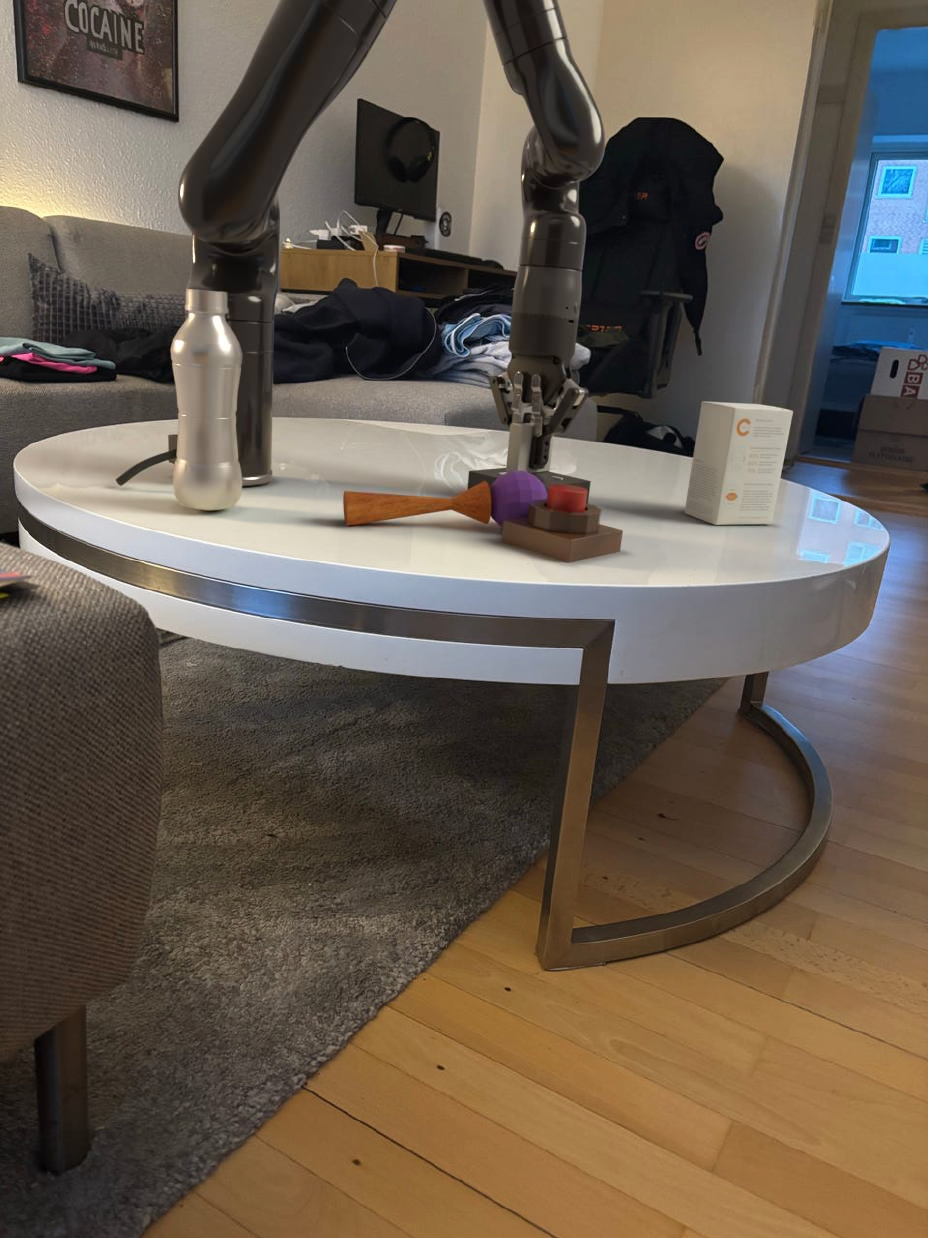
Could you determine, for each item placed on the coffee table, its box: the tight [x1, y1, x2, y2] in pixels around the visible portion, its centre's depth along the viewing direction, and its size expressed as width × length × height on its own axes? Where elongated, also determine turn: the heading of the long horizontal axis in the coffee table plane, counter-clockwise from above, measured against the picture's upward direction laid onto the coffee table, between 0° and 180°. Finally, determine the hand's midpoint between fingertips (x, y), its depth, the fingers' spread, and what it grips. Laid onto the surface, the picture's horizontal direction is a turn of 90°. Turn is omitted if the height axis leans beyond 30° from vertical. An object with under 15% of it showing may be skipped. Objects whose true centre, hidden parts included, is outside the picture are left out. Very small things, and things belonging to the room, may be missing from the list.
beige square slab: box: [505, 422, 555, 473], centre depth 107 cm, size 6×2×6 cm, turn 135°
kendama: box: [342, 470, 547, 529], centre depth 89 cm, size 6×6×20 cm
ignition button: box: [546, 484, 587, 512], centre depth 84 cm, size 4×4×2 cm
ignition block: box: [500, 499, 624, 564], centre depth 85 cm, size 8×8×4 cm
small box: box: [684, 400, 794, 526], centre depth 104 cm, size 8×6×13 cm
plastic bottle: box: [170, 288, 243, 512], centre depth 85 cm, size 6×7×20 cm
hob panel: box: [466, 462, 592, 504], centre depth 107 cm, size 12×12×3 cm
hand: (528, 466), depth 107 cm, fingers closed on beige square slab, 2 cm apart
